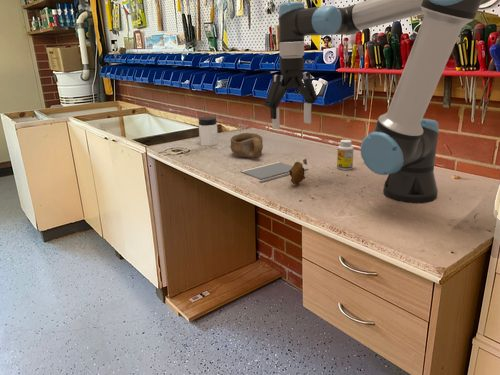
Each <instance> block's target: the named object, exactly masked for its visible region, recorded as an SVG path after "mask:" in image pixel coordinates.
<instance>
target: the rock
mask: <svg viewBox="0 0 500 375" xmlns="http://www.w3.org/2000/svg"><path fill="white" fill-rule="evenodd" d="M307 161H308V160H307V158H304V159H302V162H303V163H302V162H299V161H296V162H294V164H293V165H292V166H293V167H292V168H291V170H289V172H288V173H289V175H288V176H290V182H291V183H292V184H293V185H294V186H295V187H297V186H299V185H300V184H301V183H302V182H303V181H304V180H306V176H305V172H306V171H305V170H304V169H305V168H304V165H308V163H307Z"/></svg>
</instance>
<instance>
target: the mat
mask: <svg viewBox="0 0 500 375" xmlns="http://www.w3.org/2000/svg"><path fill="white" fill-rule="evenodd" d="M293 166H294V165H290V164H287V163H284V162H281V161H275V162H271V163H268V164H263V165H259V166H256V167H251V168H247V169H244V170H240V172H239V173H242V174H244V175H247V176H249V177H253V178H256V179H259V181H262V180H265V179H269V178H273V177H276V176H280V175H284V174H287V173H289V170H291V168H292V167H293Z"/></svg>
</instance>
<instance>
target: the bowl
mask: <svg viewBox="0 0 500 375" xmlns="http://www.w3.org/2000/svg"><path fill="white" fill-rule="evenodd" d="M263 146H264V145H263V136H261V135H259V134H258V133H254V132H253V133H252V132H251V133H249V132H244V133H240V134H234V135H233V136H232V137H231V138H230V149H231V150H230V151H231V152H232V153H233V154H234V155H236V156H238V157H241V158H259V157H260V156H261V155H262V153H263V152H262V151H263V148H264V147H263Z"/></svg>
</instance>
